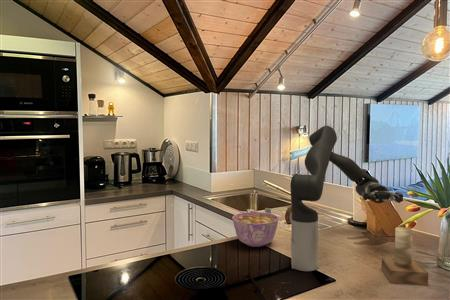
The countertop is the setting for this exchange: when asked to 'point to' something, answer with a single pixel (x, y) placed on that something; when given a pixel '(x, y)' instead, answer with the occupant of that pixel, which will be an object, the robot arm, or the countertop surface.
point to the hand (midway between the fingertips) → (387, 199)
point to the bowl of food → (255, 227)
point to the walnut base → (404, 272)
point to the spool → (403, 247)
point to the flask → (267, 210)
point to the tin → (288, 215)
